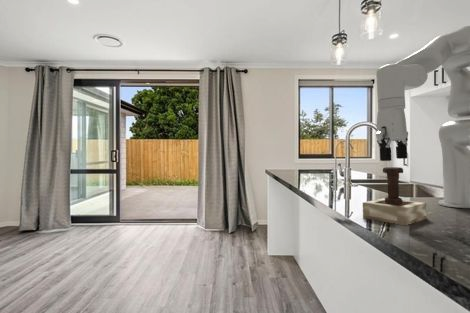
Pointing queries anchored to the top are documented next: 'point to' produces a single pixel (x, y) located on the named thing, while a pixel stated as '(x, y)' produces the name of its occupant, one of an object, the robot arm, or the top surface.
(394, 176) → the bolt
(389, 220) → the socket block
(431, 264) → the top surface
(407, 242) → the top surface
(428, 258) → the top surface
